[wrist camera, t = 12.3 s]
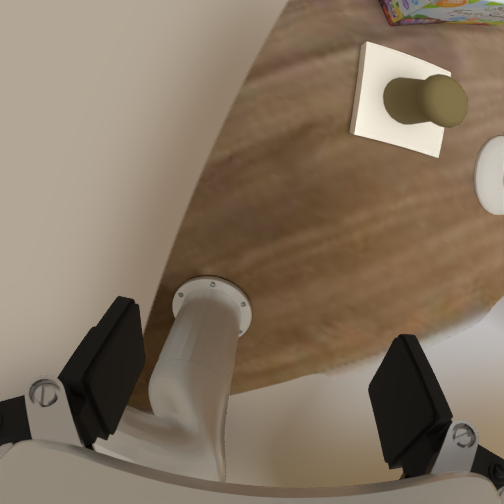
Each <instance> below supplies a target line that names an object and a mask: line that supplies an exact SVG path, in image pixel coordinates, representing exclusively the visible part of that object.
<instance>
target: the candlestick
mask: <svg viewBox="0 0 504 504" xmlns="http://www.w3.org/2000/svg"><path fill="white" fill-rule="evenodd" d="M474 187H475V192H476V195H477V198H478V200H479V202H480V204H481V205H482V206H483V208H484V209H486V210H487V211H488V212H490V213H492V214H495V215H502V214H504V136H495V137H492V138H491V139H489V140H488V141H487V142H486V143H485V144H484V145H483V147H482V148H481V150H480V152H479V154H478V157H477V160H476V163H475V168H474Z"/></svg>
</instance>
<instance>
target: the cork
mask: <svg viewBox="0 0 504 504" xmlns="http://www.w3.org/2000/svg"><path fill="white" fill-rule="evenodd" d="M383 103H384V106H385V109H386V111H387V112H388V114H389V115H390V116H391V118H393V119H394V120H395V121H397V122H399V123H401V124H404V125H412V124H418V123H425V122H432V123H434V124H436V125H438V126H440V127H448V128H450V127H453V126H456V125H459V124H460V123H461V122H462V121H463V120H464V118H465V116H466V114H467V111H468V99H467V96H466V93H465V91H464V89H463V88H462V86H461V85H460V84H459V83H458V82H457V81H456V80H455V79H453V78H451V77H450V76H447V75H442V74H436V75H432V76H429V77H428V78H426V79H425V80H422V79H413V78H403V77H398V78H395V79H392V80H391V81H390V82H389V83H388V84H387V85H386V87H385V89H384V93H383Z"/></svg>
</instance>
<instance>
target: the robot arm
mask: <svg viewBox="0 0 504 504" xmlns="http://www.w3.org/2000/svg"><path fill="white" fill-rule="evenodd" d="M172 310H173V314H174V317H175V321H174V323H173V325H172V328H171V330H170V332H169V335H168V337H167V339H166V342H165V344H164V347H163V349H162V351H161V354H160V356H159V358H158V361H157V363H156V366H155V368H154V370H153V373H152V376H151V378H150V382H149V399H150V403H151V406H152V409H153V412H154V414H155V416H154V415H151V414H147V413H145V412H142V411H140V410H137V409H135V408H132V407H130V406H128V405H127V403H128V401H129V398H130V396H131V394H132V391H133V389H134V387H135V385H136V382H137V380H138V378H139V375H140V373H141V371H142V369H143V366H144V364H145V351H144V343H143V336H142V328H141V319H140V310H139V305H138V304H135V301H134V299H131V298H126V297H121V296H118V297H117V298H116V299H115V301H114V302H113V303H112V305H111V306H110V308H109V309H108V310H107V312H106V313H105V314H104V316H103V317H102V319H101V320H100V321H99V323H98V324H97V326H96V327H95V326H94V327H92V328H91V329H90V330H89V332H88V333H87V335H86V336H85V337H84V339H83V340H82V342H81V343H80V345H79V346H78V347H77V349H76V350H75V352H74V353H73V355H72V356H71V358H70V359H69V361H68V362H67V364H66V365H65V367H64V368H63V370H62V372H61V373H60V374H59V376H58V378H55V377H53V376H49V375H44V376H39V377H36V378H34V379H33V380H31V381H30V383H29V384H28V385H27V387H26V389H25V395H23V396H20V397H16V398H12V399H8V400H5V401H1V402H0V504H504V459H502V458H500V457H499V456H497V455H495V454H493V453H492V452H490V451H489V450H487V449H485V448H484V447H482V446H480V445H479V444H478V442H479V436H478V432H477V430H476V428H475V427H474V426H473V425H472V424H471V423H469V422H467V421H465V420H457V421H454V422H453V423H452V420H451V419H452V417H453V415H452V413H451V410H450V408H449V406H448V403H447V401H446V399H445V396H444V394H443V392H442V390H441V387H440V385H439V383H438V381H437V379H436V376H435V374H434V372H433V370H432V368H431V366H430V364H429V362H428V360H427V358H426V356H425V354H424V352H423V350H422V348H421V346H420V344H419V342H418V340H417V338H416V336H415V335H411V334H400V335H399V336H398V337H397V338H395V339H394V340H393V342H392V344H391V346H390V348H389V350H388V352H387V354H386V356H385V357H384V359H383V361H382V363H381V365H380V367H379V368H378V370H377V372H376V374H375V376H374V377H373V379H372V381H371V382H370V385H369V388H368V392H369V396H370V400H371V404H372V408H373V412H374V416H375V420H376V424H377V429H378V433H379V438H380V442H381V447H382V451H383V456H384V460H385V462H386V463H388V465H389V469H395V468H401V467H402V468H403V473H402V475H401V477H400V479H399V480H395V481H388V482H381V483H373V484H364V485H354V486H342V487H323V488H322V487H319V488H287V487H264V486H252V485H242V484H241V485H240V484H233V483H225V482H226V454H225V423H226V414H227V406H228V400H229V393H230V387H231V381H232V375H233V368H234V362H235V356H236V349H237V343H238V338H239V337H240V336H242V335H243V334H244V333H245V332H246V331H247V329H248V328H249V326H250V323H251V319H252V307H251V304H250V301H249V299H248V298H247V296H246V295H245V293H244V292H243V291H242V290H241V289H240V288H239V287H237V286H236V285H235V284H233V283H231V282H229V281H227V280H224V279H222V278H218V277H212V276H202V277H196V278H193V279H190V280H188V281H187V282H185V283H183V284H182V285H181V286H180V287H179V289H178V290H177V292H176V294H175V296H174V298H173V303H172Z"/></svg>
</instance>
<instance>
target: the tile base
mask: <svg viewBox="0 0 504 504" xmlns="http://www.w3.org/2000/svg"><path fill="white" fill-rule="evenodd" d="M436 74H442V75H447V76H450V77H451V72H449V71H446V70H444V69H442V68H440V67H437V66H435V65H433V64H430V63H428V62H425V61H423V60H420V59H418V58H415V57H413V56H410V55H407V54H404V53H402V52H399V51H396V50H393V49H390V48H387V47H384V46H380V45H377V44H374V43H370V42H365V43H364V44H362V45H361V51H360V60H359V69H358V77H357V84H356V92H355V99H354V106H353V112H352V119H351V125H350V131H349V133H351V134H354V135H358V136H363V137H367V138H371V139H375V140H379V141H383V142H387V143H390V144H394V145H398V146H401V147H405V148H408V149H411V150H415V151H418V152H421V153H424V154H428V155H431V156H434V157H437V158H439V153H440V148H441V143H442V137H443V132H444V127H440V126H438V125H436V124H434V123H432V122H425V123H418V124H412V125H404V124H401V123H399V122H397V121H395V120H394V119H393V118H391V116H390V115H389V114H388V112H387V111H386V109H385V106H384V103H383V93H384V89H385V87H386V85H387V84H388V83H389V82H390V81H391V80H392V79H395V78H398V77H403V78H413V79H422V80H425V79H426V78H428V77H429V76H432V75H436Z"/></svg>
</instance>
